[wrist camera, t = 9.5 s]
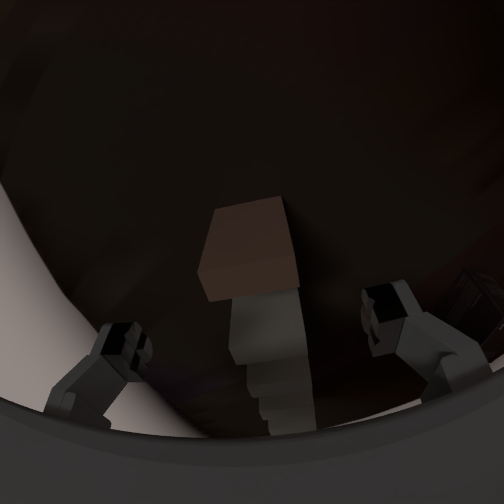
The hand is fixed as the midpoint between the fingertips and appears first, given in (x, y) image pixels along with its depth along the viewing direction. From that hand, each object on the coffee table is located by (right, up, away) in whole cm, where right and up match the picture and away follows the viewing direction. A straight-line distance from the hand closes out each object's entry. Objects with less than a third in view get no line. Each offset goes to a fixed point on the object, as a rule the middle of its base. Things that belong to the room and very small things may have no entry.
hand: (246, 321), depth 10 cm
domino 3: (+2, -3, +14) cm, 15 cm away
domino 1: (0, +5, +9) cm, 10 cm away
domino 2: (+1, 0, +12) cm, 12 cm away
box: (+22, -2, +14) cm, 26 cm away
